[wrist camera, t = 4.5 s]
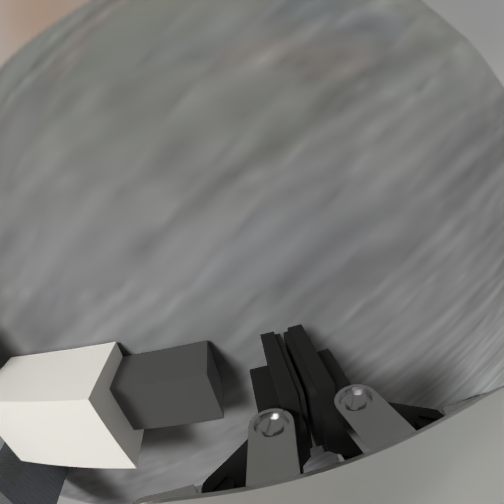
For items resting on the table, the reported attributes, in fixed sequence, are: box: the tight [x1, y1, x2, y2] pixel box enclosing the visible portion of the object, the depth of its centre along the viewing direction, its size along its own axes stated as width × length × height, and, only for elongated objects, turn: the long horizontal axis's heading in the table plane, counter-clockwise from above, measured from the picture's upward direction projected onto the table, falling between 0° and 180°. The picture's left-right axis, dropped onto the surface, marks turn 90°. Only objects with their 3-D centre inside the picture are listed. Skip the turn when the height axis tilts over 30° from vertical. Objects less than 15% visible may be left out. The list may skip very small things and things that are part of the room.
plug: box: [0, 341, 224, 468], centre depth 11 cm, size 12×4×4 cm, turn 103°
